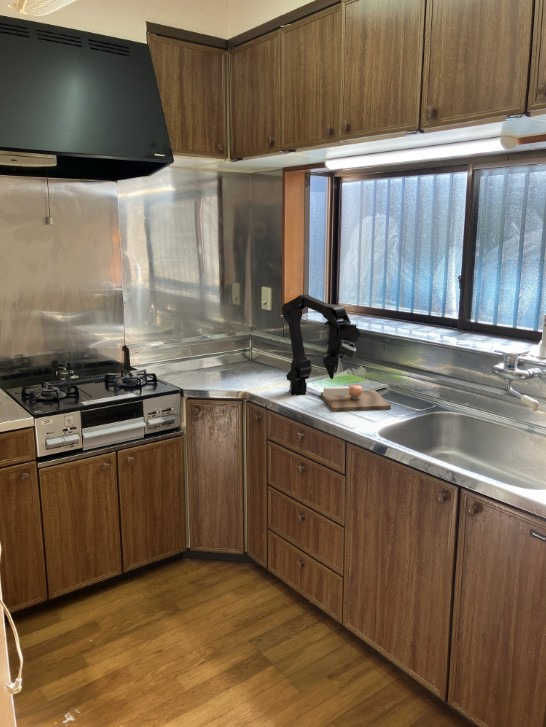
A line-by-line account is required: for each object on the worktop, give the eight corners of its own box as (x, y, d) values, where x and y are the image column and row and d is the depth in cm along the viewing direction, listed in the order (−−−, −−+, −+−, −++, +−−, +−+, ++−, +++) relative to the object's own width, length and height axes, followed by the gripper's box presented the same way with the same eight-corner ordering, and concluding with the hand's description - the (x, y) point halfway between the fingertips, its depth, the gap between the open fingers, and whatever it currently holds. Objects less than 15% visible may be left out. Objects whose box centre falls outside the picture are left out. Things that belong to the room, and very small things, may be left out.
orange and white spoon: (359, 391, 249) (359, 384, 248) (363, 395, 244) (363, 388, 243) (322, 393, 247) (322, 386, 246) (325, 397, 241) (325, 390, 241)
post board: (332, 411, 236) (332, 403, 235) (320, 395, 255) (320, 388, 254) (390, 408, 239) (391, 401, 238) (374, 393, 258) (375, 386, 257)
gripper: (352, 344, 225) (350, 384, 229) (358, 334, 242) (356, 371, 246) (323, 342, 228) (321, 381, 232) (330, 332, 245) (329, 369, 249)
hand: (333, 375), depth 240 cm, fingers open, 9 cm apart
